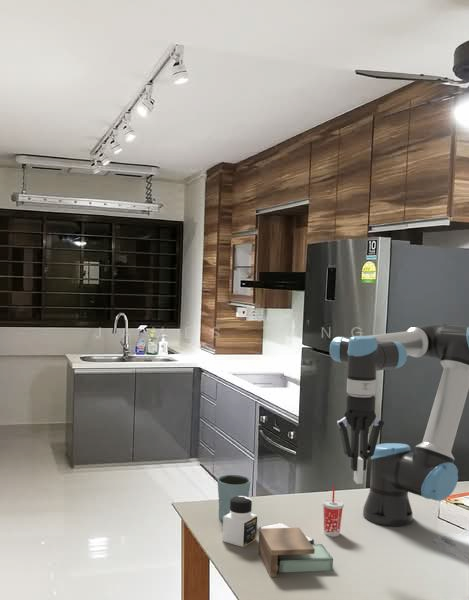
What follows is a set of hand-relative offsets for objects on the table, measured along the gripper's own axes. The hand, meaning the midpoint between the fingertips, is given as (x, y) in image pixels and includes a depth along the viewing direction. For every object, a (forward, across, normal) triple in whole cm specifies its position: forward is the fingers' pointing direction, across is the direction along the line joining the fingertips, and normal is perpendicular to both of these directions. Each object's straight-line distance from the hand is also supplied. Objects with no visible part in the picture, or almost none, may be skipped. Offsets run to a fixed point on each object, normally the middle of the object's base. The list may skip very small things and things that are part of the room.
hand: (358, 482), depth 175 cm
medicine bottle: (+20, -29, +14) cm, 38 cm away
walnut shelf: (+20, -20, -3) cm, 29 cm away
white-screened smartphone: (+21, -15, +15) cm, 30 cm away
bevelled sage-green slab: (+20, -16, -3) cm, 26 cm away
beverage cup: (+21, -1, +16) cm, 26 cm away
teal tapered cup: (+20, -28, +30) cm, 46 cm away
